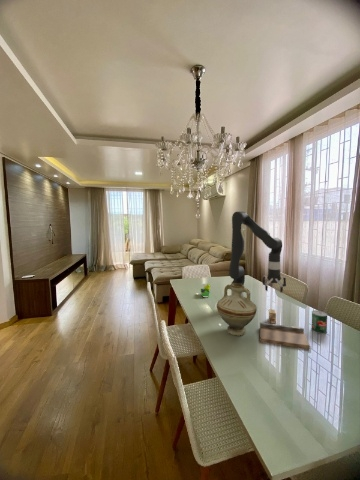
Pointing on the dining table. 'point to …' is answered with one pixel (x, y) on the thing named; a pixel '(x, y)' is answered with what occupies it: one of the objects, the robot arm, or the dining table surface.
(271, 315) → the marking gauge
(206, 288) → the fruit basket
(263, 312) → the dining table surface
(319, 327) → the canned tomato
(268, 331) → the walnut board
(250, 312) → the amphora
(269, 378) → the dining table surface
